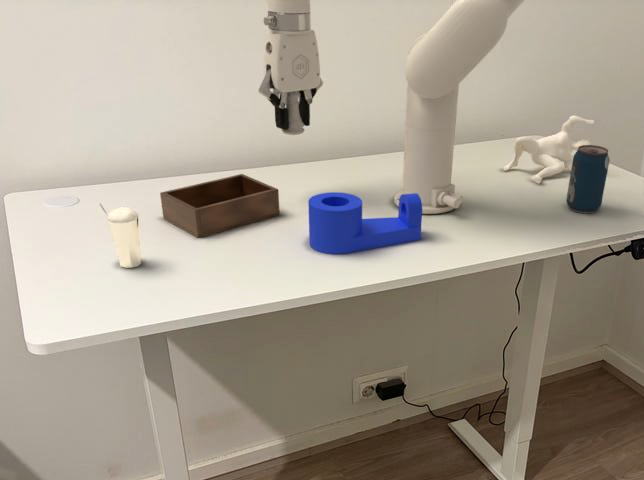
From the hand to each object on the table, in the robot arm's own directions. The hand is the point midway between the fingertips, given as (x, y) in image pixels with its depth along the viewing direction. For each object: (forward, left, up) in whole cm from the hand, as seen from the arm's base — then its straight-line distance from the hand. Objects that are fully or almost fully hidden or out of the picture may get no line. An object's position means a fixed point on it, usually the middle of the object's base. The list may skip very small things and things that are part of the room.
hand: (293, 125), depth 140 cm
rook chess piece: (0, 0, -2) cm, 2 cm away
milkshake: (-9, +41, -14) cm, 44 cm away
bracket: (-26, +5, -14) cm, 30 cm away
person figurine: (-24, -54, -14) cm, 61 cm away
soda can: (-42, -40, -14) cm, 60 cm away
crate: (-1, +18, -14) cm, 23 cm away
